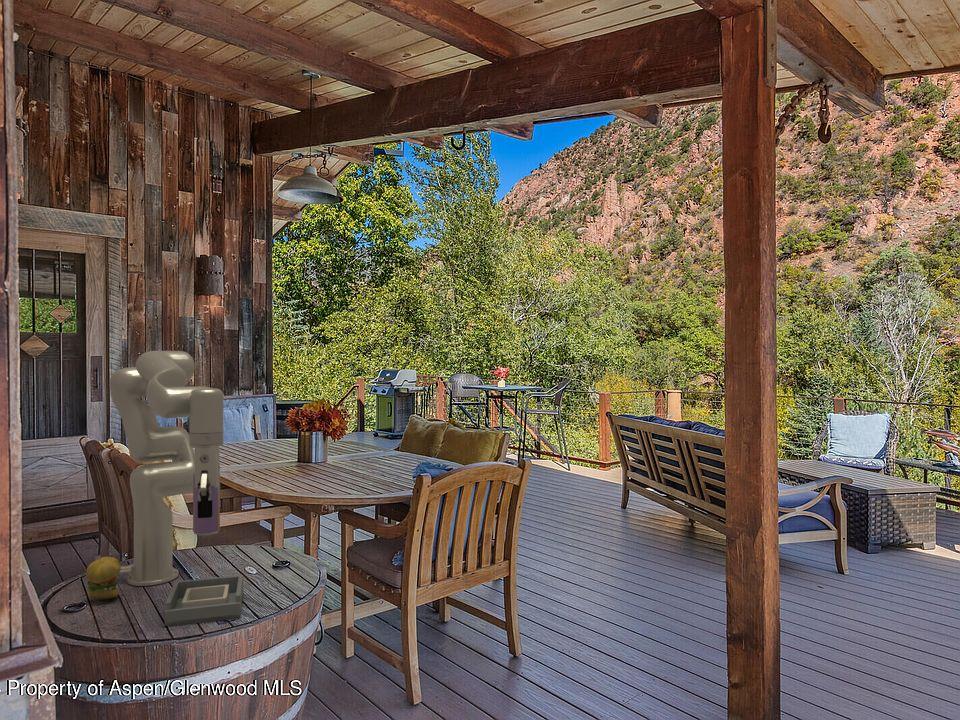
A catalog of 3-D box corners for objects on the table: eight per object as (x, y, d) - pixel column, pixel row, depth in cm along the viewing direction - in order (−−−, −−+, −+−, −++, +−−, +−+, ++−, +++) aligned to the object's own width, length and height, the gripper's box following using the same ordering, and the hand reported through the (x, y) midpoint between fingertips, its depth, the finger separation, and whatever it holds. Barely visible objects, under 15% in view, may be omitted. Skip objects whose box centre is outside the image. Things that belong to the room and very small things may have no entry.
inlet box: (164, 627, 144) (164, 604, 144) (174, 601, 159) (174, 581, 159) (240, 618, 149) (240, 596, 149) (243, 594, 164) (243, 574, 164)
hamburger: (126, 594, 164) (126, 548, 164) (113, 605, 156) (113, 556, 156) (94, 596, 163) (94, 549, 163) (79, 607, 156) (79, 557, 156)
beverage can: (210, 536, 151) (210, 473, 150) (187, 535, 152) (187, 472, 152) (224, 530, 156) (225, 468, 156) (203, 528, 158) (203, 467, 158)
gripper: (220, 443, 147) (220, 521, 147) (225, 435, 163) (225, 505, 163) (184, 444, 145) (184, 524, 145) (193, 436, 161) (193, 507, 161)
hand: (206, 513), depth 154 cm, fingers closed on beverage can, 5 cm apart
